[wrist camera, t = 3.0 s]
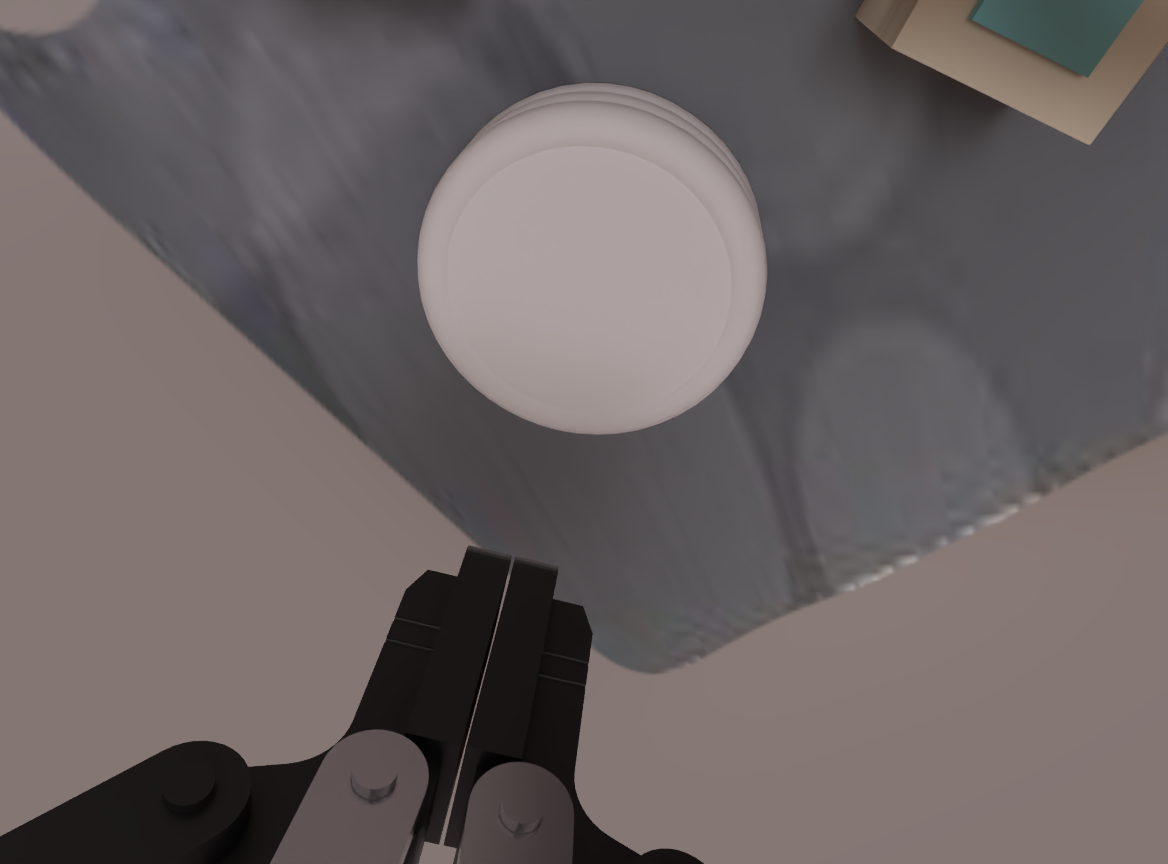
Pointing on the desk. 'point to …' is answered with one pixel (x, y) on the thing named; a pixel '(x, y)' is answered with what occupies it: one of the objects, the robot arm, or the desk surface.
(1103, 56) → the marked block
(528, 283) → the white round container
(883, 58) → the desk surface
